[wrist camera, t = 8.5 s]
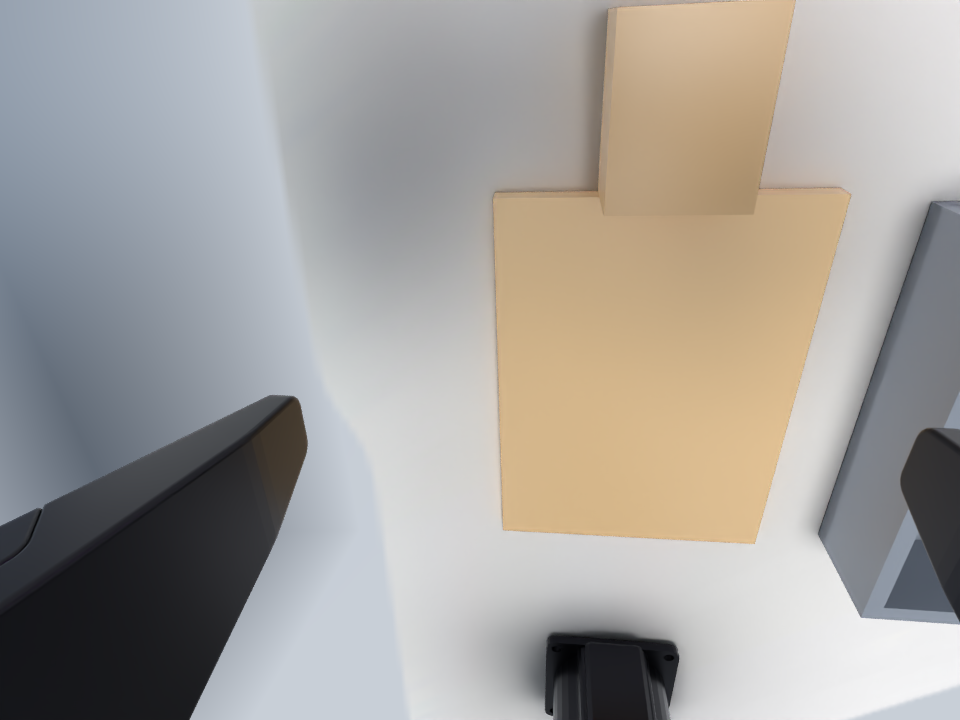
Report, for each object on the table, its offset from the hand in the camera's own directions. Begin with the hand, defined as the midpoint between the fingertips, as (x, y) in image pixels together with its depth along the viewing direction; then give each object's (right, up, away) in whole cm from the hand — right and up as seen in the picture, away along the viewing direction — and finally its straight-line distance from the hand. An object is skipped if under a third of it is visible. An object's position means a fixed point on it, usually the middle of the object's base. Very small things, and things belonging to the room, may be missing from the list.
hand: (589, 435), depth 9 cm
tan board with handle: (+4, +2, +12) cm, 13 cm away
